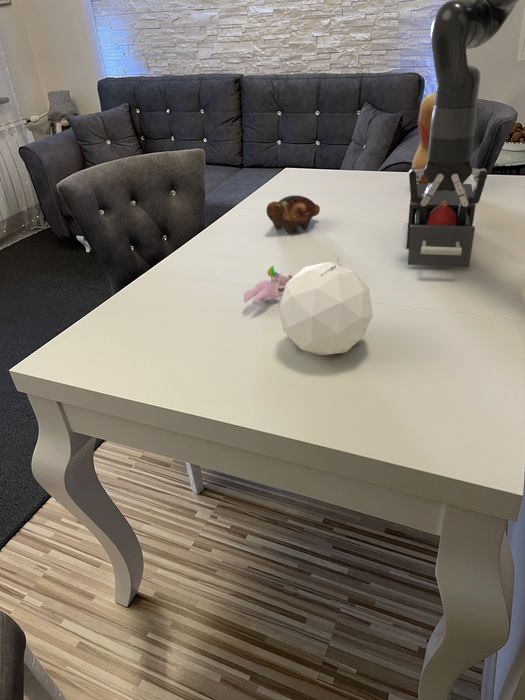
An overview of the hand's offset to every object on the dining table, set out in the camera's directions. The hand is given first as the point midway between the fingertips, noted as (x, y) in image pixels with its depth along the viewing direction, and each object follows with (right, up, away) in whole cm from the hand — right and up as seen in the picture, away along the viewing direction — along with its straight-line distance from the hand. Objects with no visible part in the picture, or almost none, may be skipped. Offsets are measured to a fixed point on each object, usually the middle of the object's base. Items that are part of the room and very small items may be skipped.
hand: (441, 223), depth 104 cm
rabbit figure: (-34, -15, -5) cm, 37 cm away
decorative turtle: (-27, +5, +25) cm, 37 cm away
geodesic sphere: (-25, -24, -20) cm, 40 cm away
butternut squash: (+12, +19, +42) cm, 47 cm away
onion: (0, -3, +2) cm, 4 cm away
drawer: (0, -6, +3) cm, 7 cm away
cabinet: (+4, 0, +14) cm, 15 cm away
